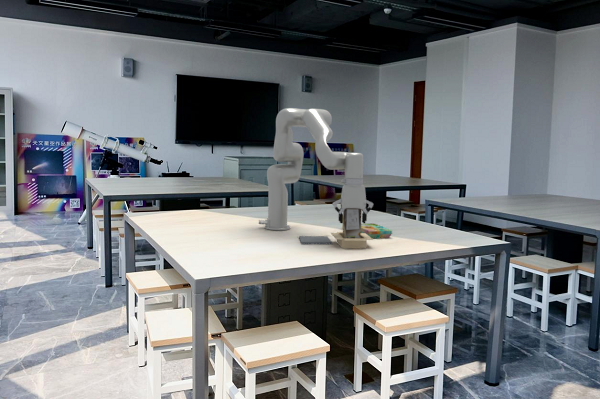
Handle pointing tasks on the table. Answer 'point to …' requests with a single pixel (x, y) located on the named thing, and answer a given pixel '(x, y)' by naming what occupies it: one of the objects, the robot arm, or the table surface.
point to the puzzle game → (375, 231)
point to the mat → (315, 240)
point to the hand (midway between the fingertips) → (352, 222)
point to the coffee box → (351, 223)
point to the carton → (351, 240)
